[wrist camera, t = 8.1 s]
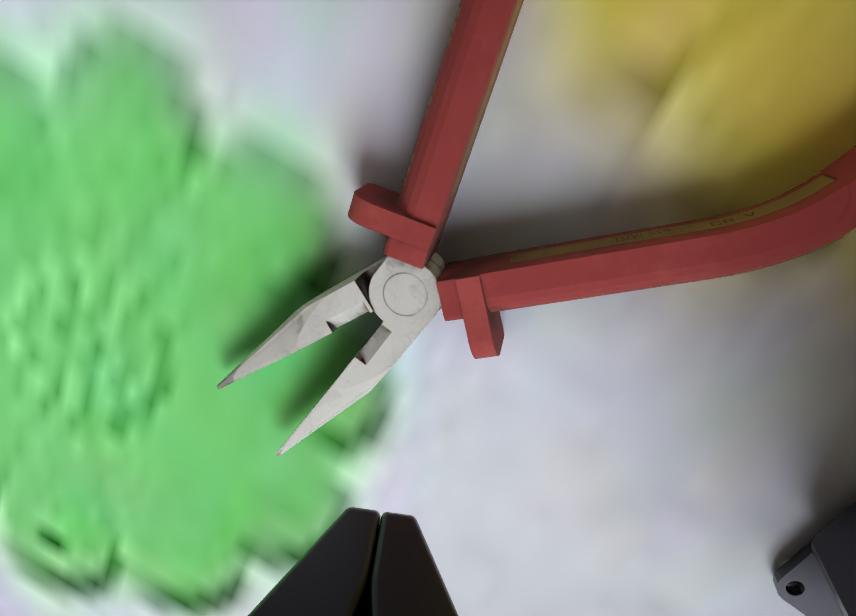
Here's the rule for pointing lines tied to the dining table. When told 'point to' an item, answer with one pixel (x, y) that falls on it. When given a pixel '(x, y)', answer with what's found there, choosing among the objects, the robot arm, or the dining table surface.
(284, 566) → the dining table surface
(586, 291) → the pliers
